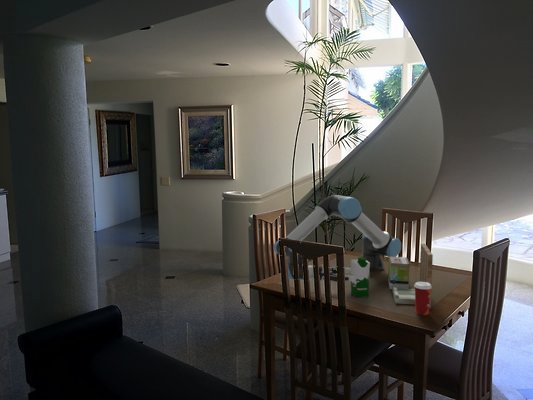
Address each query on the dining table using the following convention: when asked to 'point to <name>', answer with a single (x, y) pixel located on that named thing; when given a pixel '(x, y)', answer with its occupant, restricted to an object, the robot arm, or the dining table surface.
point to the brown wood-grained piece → (425, 276)
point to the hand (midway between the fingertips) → (355, 274)
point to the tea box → (398, 272)
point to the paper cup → (422, 297)
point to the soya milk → (360, 277)
